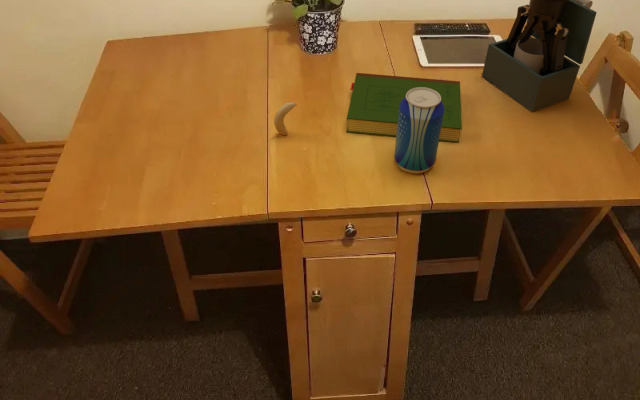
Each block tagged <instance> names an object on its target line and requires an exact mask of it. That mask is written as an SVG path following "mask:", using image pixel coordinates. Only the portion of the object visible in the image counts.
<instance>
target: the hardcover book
mask: <svg viewBox="0 0 640 400" xmlns="http://www.w3.org/2000/svg"><path fill="white" fill-rule="evenodd" d="M418 87H425V88H430V89H433V90H435V91H437V92H438V93H439V94H440V96H441V101H442V103H443V105H444V115H443V121H442V126H441V132H440V138H439V142H447V143H456V144H459V143H460V133H461V131H462V129H463V127H462V126H463V125H462V122H463V121H462V97H461V81H459V80H448V79H437V78H436V79H435V78H425V77H413V76H412V77H410V76H399V75H389V74H388V75H387V74H376V73H375V74H374V73H362V72H361V73H360V72H356V73H355V78H354V82H351V85H350V91H352V92H351V97H350V101H349V106H348V111H347V117H346V120H347V127H346V133H349V134H361V135H371V136H372V135H373V136H380V137H381V136H382V137H383V136H384V137H393V138H396V134H397V126H398V117H399V108H400V103H401V101H402V100H403V99H404V98H405V97H406V93H407V92H408V91H409V90H411V89H413V88H418Z"/></svg>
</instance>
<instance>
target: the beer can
mask: <svg viewBox="0 0 640 400" xmlns="http://www.w3.org/2000/svg"><path fill="white" fill-rule="evenodd" d="M443 115H444V105H443V103H442V101H441V96H440V94H439V93H438V92H437V91H435V90H433V89H430V88H425V87H418V88H413V89H411V90H409V91H408V92H407V93H406V97H405V98H404V99H403V100H402V101H401V103H400V108H399V117H398V126H397V134H396V137H395V143H394V153H393V159H394V162H395V163H396V164H397V166H398V167H399V168H400V169H401V170H402V171H404V172H406V173H409V174H413V175H414V174H415V175H417V174H422V173H425V172H428V170H430V169H431V168H432V167H434V165H435V164H436V160H437V155H438V154H437V153H438V148H439V144H440V143H439V142H440V141H439V138H440V132H441V126H442V121H443Z"/></svg>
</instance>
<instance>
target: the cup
mask: <svg viewBox="0 0 640 400" xmlns="http://www.w3.org/2000/svg"><path fill="white" fill-rule="evenodd" d="M519 42H520V40H519V41H518V43H517V45H516V49H515V53H514V57H513V58H515V59H516V60H518V61H519V62H521V63H522V64H524V65H525V66H527V67H528V68H530V69H531V70H533V71H535V72H536V73H538V74H539V72H540V69H542V68H544V63H543V58H544V55H543V46H542V41H541V40H540V39H537V38H534V37H533V38H529V39H528V40H527V41H526V42H524V43H519Z"/></svg>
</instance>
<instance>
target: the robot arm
mask: <svg viewBox="0 0 640 400" xmlns="http://www.w3.org/2000/svg"><path fill="white" fill-rule="evenodd" d="M567 1H568V0H529V3H528V4H526V5H524V4H523V5H521V6H518V7H517V11H516V17H515V20H514V22H513V24H512V27H511V29H510V31H509V34H508V36H507V38H506V39H507V41H506V43H507V44H508V45H510V46H511V50H512V51H511V54H510V56H511V57H514V53H515V49H516V45H517V43H518V41H519V40H520V42H519V43H524V42H526V41H527V40H528V39H529V38H530V36H531V35H532V34H533V33H534V32H537V33H538V34H539V35H540V40H541V41H542V46H543V55H544V58H543V63H544V68H542V69H540V72H539V75H541V76H545V75H548V74H551V73H553V72H556V71H559V70H562V68H563V62H564V56H565V49H566V42H567V37H568V35H569V33H570V31H571V29H570V27H566V28H565V27H564V26H563V25H561V15H562V14H563V12H564V10H565V7H566V4H567ZM528 17H529V22H528V23H527V19H528ZM548 34H550V35H548ZM546 35H548V36H546ZM531 37H532V36H531ZM554 39H555V40H554Z"/></svg>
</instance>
